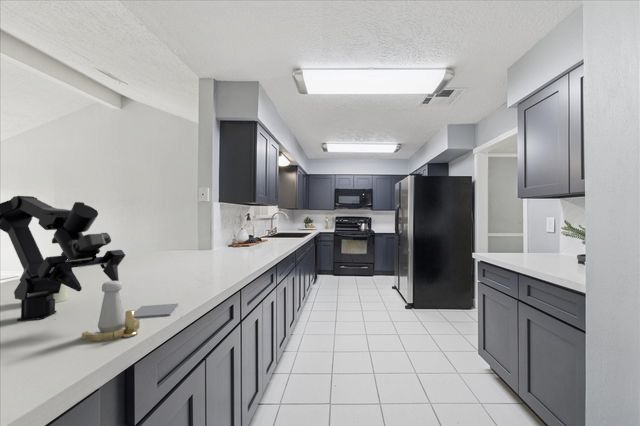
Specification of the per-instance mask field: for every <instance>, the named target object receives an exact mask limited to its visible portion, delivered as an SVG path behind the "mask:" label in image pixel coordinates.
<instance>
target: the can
mask: <svg viewBox="0 0 640 426" xmlns="http://www.w3.org/2000/svg"><path fill="white" fill-rule="evenodd" d="M53 299H55V304H57V302H58V303H60V302H62V303H63V302H65V301H67V300H68V299H69V287H68V286H66V285H64V284H61V287H60V291H59V293H57V294H53Z"/></svg>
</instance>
